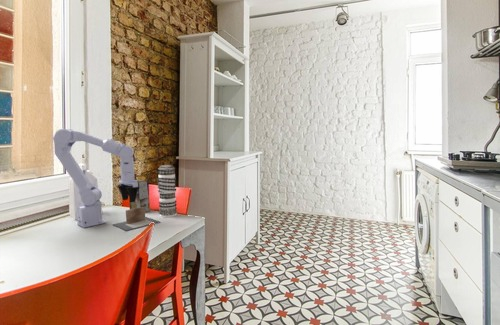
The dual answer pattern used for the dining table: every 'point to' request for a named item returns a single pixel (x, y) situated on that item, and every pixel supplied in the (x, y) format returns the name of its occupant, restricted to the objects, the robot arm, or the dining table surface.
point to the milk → (74, 192)
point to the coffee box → (141, 196)
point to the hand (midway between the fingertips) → (129, 200)
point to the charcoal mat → (135, 224)
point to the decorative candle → (167, 191)
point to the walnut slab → (135, 215)
